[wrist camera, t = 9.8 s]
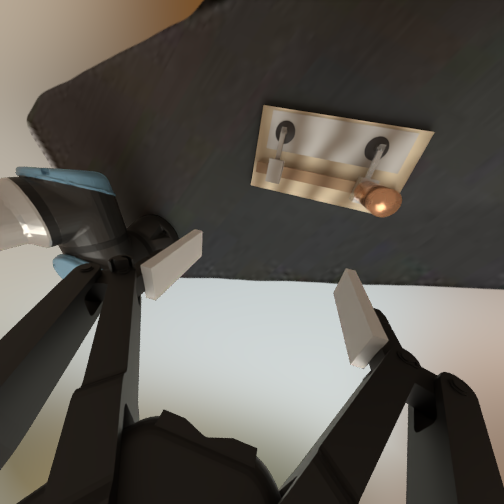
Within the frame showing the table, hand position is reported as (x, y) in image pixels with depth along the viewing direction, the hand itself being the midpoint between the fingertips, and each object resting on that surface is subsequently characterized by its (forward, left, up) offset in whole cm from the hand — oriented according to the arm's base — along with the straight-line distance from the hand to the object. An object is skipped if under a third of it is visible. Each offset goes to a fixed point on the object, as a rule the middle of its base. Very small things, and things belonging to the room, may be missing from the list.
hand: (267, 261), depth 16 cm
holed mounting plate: (+4, +8, -27) cm, 29 cm away
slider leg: (+11, +8, -25) cm, 29 cm away
